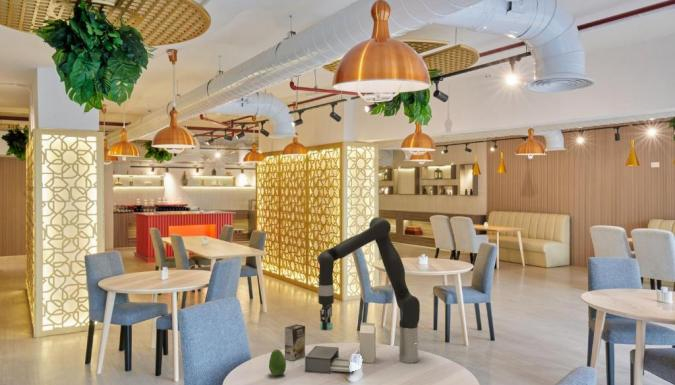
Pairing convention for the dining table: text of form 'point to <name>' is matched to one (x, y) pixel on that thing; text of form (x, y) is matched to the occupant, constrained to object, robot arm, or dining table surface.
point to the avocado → (277, 363)
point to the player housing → (320, 359)
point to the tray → (341, 364)
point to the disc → (329, 326)
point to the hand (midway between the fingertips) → (326, 327)
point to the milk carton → (368, 342)
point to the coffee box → (294, 342)
